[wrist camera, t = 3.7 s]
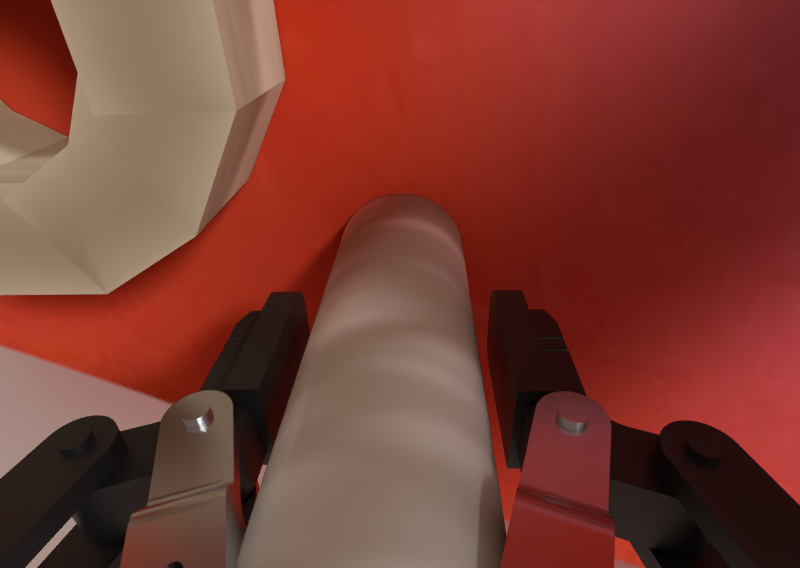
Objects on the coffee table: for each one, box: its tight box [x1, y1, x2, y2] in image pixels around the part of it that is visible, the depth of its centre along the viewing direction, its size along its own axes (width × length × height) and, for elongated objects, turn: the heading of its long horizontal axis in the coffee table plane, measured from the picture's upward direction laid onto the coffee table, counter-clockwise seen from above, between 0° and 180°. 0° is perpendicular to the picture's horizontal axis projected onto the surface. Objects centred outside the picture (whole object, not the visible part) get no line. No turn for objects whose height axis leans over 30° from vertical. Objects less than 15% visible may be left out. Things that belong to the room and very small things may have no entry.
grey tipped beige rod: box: [235, 194, 507, 568], centre depth 9 cm, size 4×4×15 cm
